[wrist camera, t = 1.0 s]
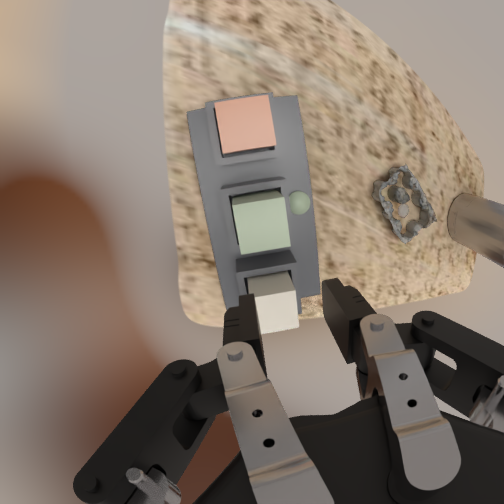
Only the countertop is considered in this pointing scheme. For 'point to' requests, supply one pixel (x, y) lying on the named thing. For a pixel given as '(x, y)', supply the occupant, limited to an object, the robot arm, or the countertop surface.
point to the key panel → (252, 181)
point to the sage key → (261, 221)
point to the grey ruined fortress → (402, 197)
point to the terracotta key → (245, 124)
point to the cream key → (274, 301)
